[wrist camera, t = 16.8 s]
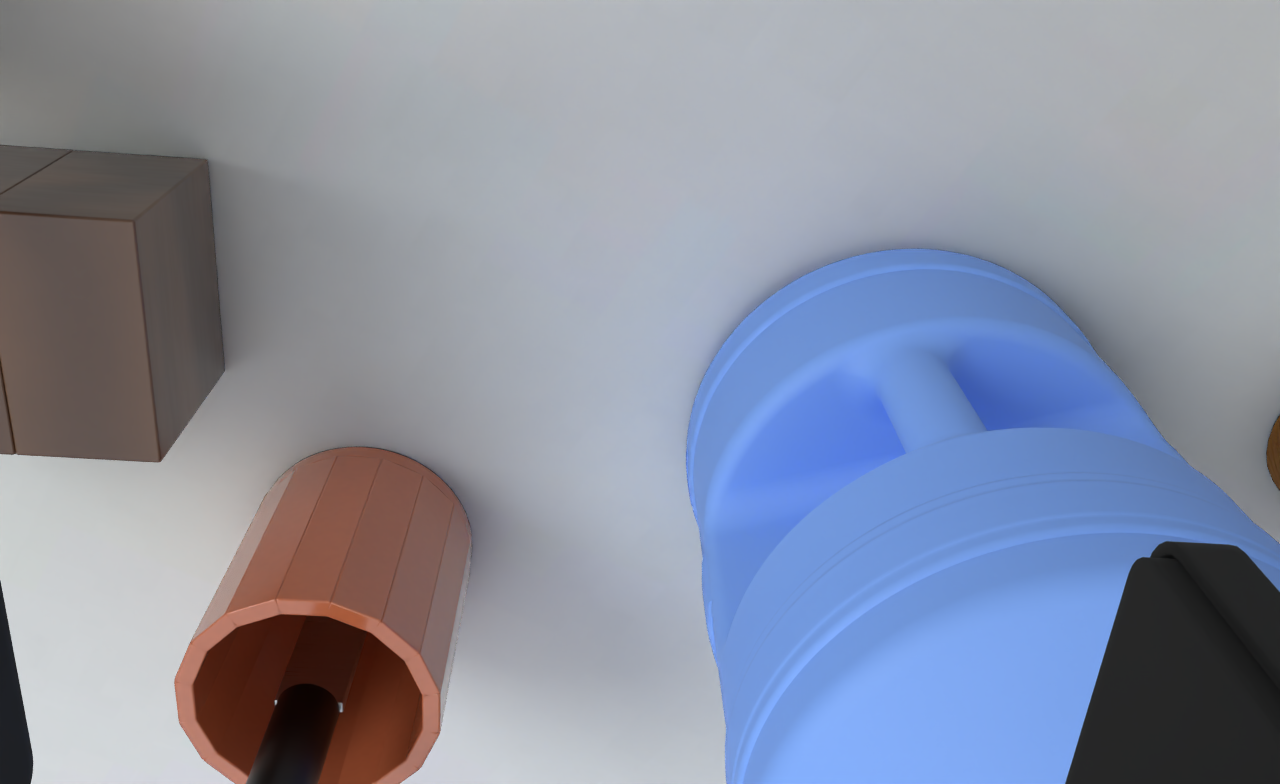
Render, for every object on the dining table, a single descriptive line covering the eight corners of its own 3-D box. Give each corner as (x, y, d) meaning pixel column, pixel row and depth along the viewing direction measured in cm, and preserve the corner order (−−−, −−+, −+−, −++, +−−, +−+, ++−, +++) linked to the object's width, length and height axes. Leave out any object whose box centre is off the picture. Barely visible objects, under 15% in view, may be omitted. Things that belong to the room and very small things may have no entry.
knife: (389, 532, 46) (293, 840, 32) (389, 575, 47) (296, 893, 33) (331, 529, 46) (210, 837, 32) (333, 572, 47) (216, 890, 33)
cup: (474, 452, 46) (441, 606, 37) (470, 630, 49) (439, 811, 40) (252, 440, 45) (163, 593, 36) (265, 620, 49) (187, 801, 40)
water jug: (1108, 553, 48) (1661, 1352, 23) (732, 638, 50) (863, 1481, 24) (1071, 191, 42) (1787, 754, 16) (639, 300, 43) (684, 975, 18)
